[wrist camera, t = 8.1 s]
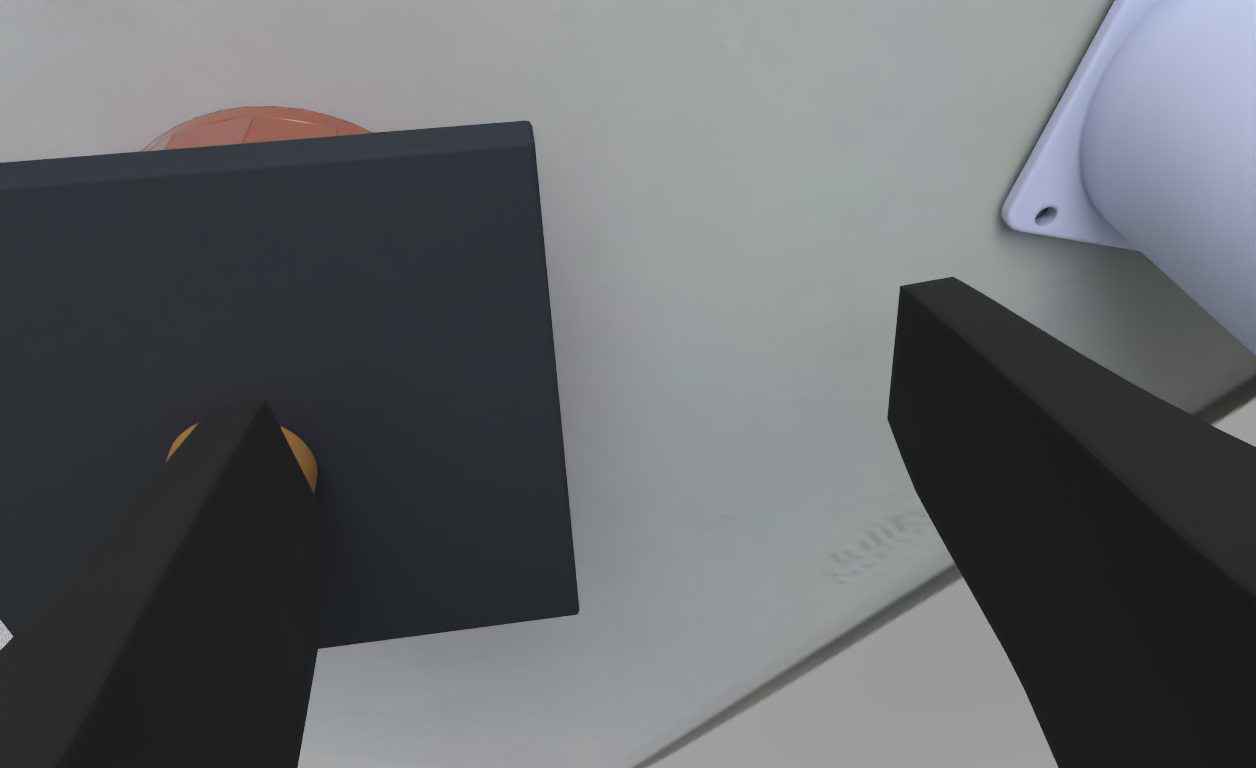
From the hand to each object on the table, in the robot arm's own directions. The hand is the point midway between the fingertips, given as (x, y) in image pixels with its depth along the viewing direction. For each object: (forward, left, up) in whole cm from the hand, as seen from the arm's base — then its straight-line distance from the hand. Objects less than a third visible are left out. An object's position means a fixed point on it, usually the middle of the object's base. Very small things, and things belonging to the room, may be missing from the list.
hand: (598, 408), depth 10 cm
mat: (+5, +5, -5) cm, 9 cm away
